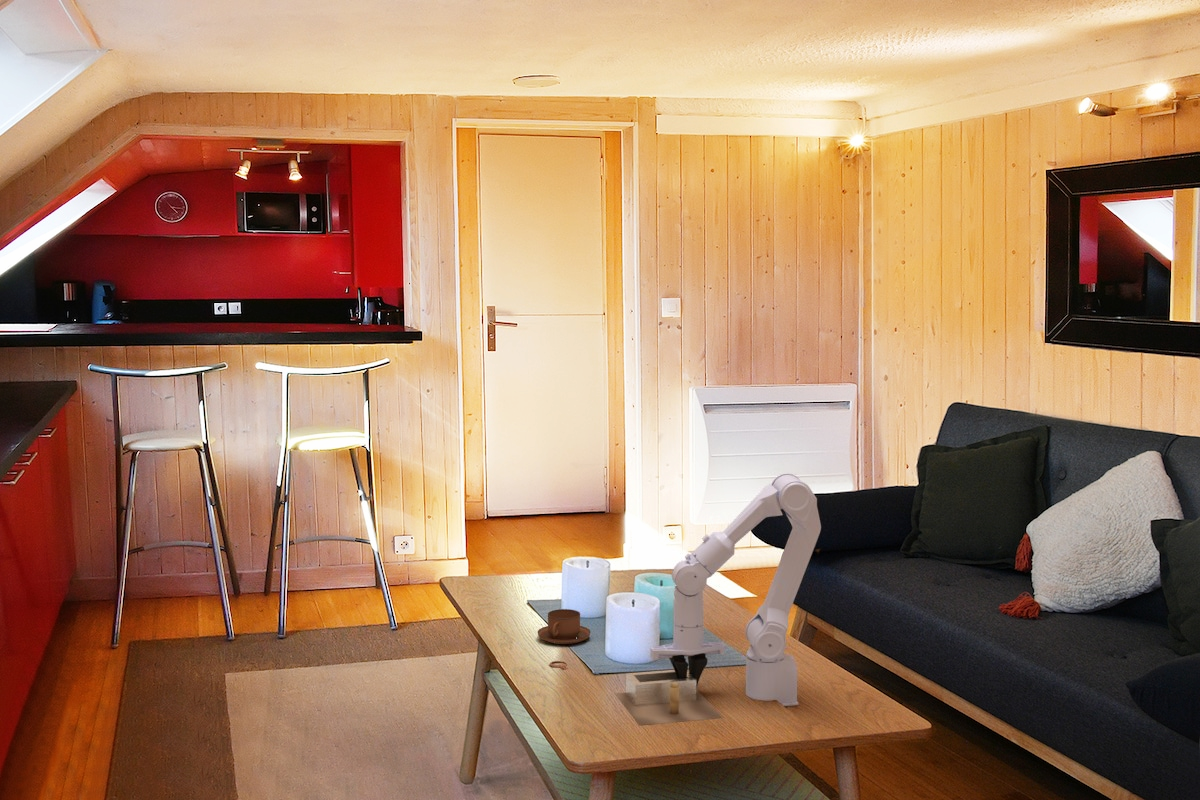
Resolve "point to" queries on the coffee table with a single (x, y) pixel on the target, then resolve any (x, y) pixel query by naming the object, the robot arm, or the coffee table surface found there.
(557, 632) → the cup and saucer
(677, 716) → the board
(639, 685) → the cream hollow block
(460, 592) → the coffee table surface
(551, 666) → the key
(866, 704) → the coffee table surface
